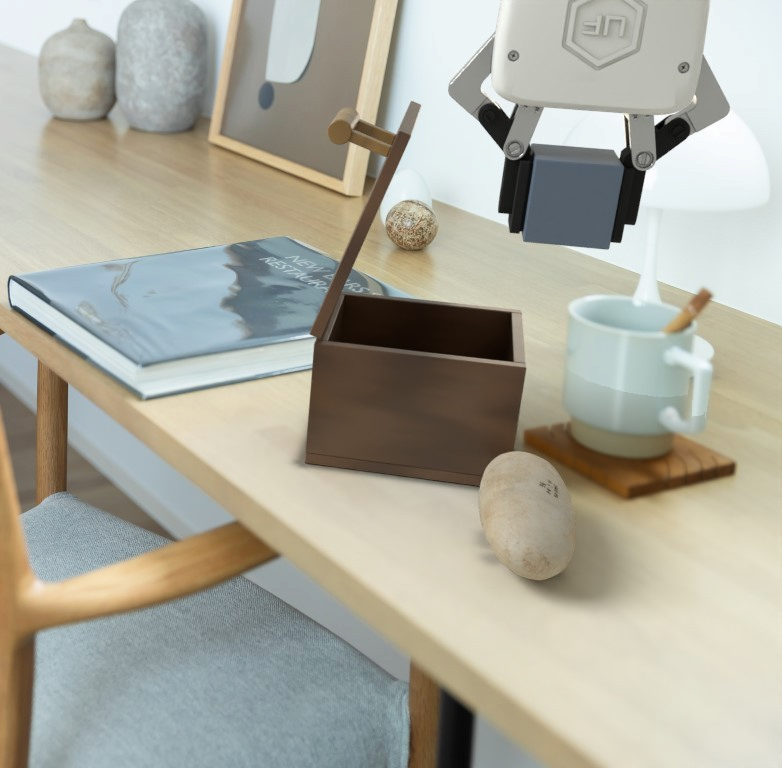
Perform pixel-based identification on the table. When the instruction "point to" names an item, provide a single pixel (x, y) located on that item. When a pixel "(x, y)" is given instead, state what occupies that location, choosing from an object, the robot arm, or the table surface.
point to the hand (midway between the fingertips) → (563, 228)
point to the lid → (393, 151)
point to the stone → (527, 515)
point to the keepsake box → (415, 387)
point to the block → (572, 196)
